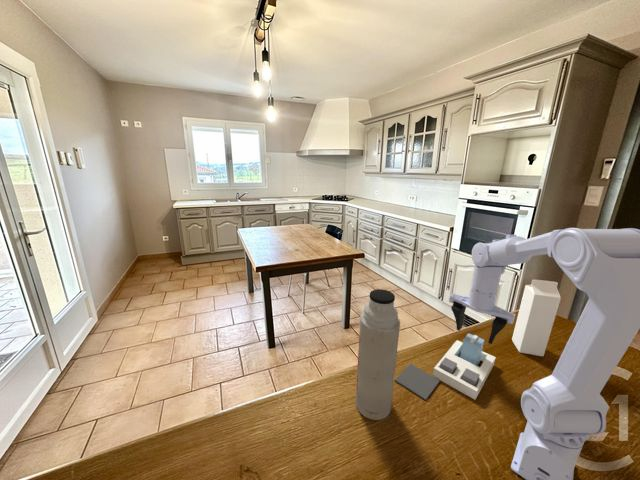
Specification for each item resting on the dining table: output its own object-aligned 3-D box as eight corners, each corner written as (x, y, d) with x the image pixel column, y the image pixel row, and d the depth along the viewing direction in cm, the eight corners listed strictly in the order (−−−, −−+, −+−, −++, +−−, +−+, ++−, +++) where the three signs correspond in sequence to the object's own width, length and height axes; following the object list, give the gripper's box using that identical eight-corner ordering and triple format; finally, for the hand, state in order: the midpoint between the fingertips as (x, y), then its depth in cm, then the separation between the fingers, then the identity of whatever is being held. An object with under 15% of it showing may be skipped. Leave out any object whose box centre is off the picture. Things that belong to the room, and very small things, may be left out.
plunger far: (450, 380, 66) (452, 369, 66) (438, 373, 69) (440, 363, 68) (455, 373, 68) (457, 363, 68) (443, 367, 71) (445, 357, 70)
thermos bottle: (349, 409, 59) (355, 297, 51) (363, 384, 66) (369, 281, 58) (384, 427, 55) (396, 308, 47) (395, 398, 62) (407, 290, 54)
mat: (425, 400, 61) (425, 399, 61) (394, 380, 67) (395, 379, 67) (439, 381, 67) (439, 380, 66) (410, 364, 72) (410, 363, 72)
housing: (475, 400, 61) (477, 391, 61) (432, 376, 68) (434, 368, 68) (493, 364, 72) (495, 357, 71) (455, 347, 79) (456, 339, 78)
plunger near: (473, 392, 63) (475, 381, 62) (460, 385, 65) (462, 374, 64) (477, 385, 65) (479, 374, 64) (464, 378, 67) (466, 368, 66)
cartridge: (474, 370, 70) (480, 345, 68) (458, 362, 73) (463, 338, 71) (479, 362, 73) (484, 338, 71) (464, 355, 76) (468, 331, 73)
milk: (511, 340, 82) (527, 274, 76) (534, 343, 81) (552, 277, 75) (519, 352, 77) (537, 283, 71) (544, 357, 75) (564, 286, 69)
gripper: (522, 293, 64) (510, 340, 68) (458, 275, 74) (451, 317, 78) (515, 304, 59) (503, 354, 63) (449, 283, 69) (442, 327, 73)
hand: (474, 335), depth 70 cm, fingers open, 7 cm apart
